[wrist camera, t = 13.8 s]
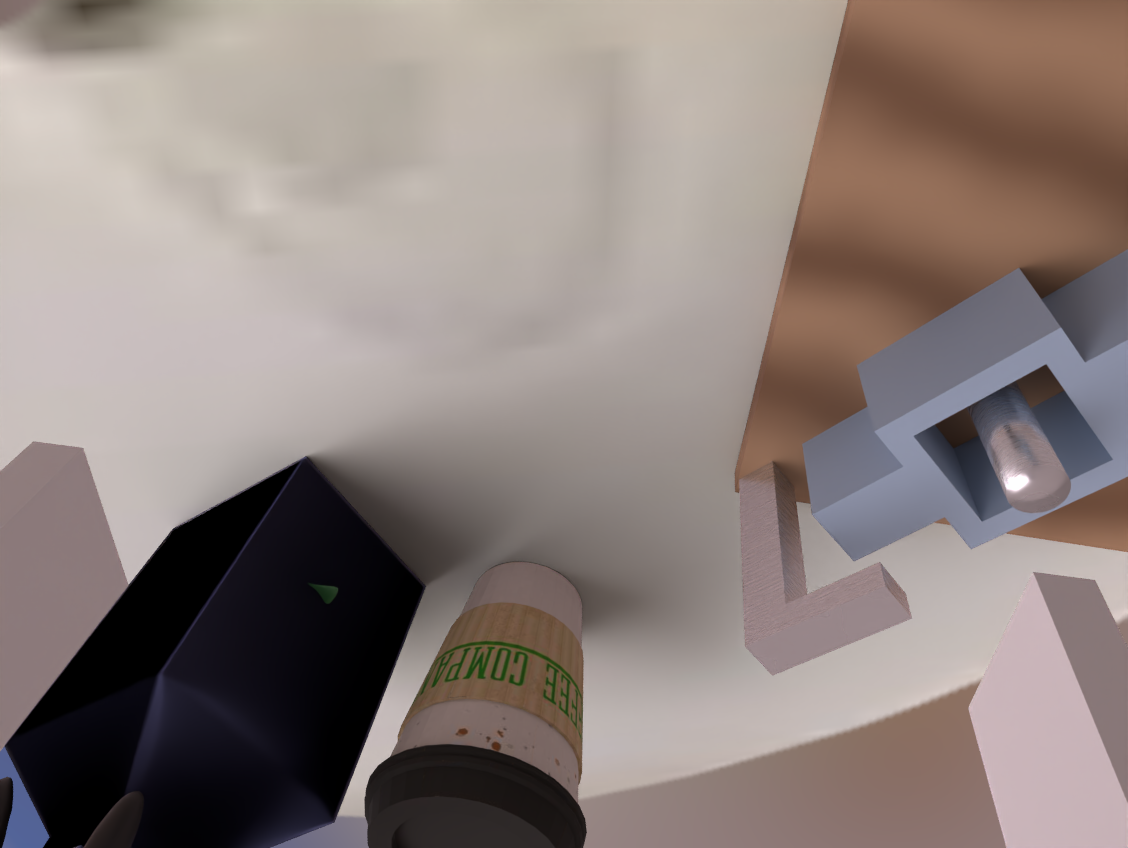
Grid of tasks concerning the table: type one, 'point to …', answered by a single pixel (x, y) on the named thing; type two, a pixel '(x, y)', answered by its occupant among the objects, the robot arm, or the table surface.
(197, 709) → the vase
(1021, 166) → the board
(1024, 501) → the pintle
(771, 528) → the bracket
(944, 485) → the link
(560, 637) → the coffee cup
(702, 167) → the table surface
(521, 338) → the table surface
